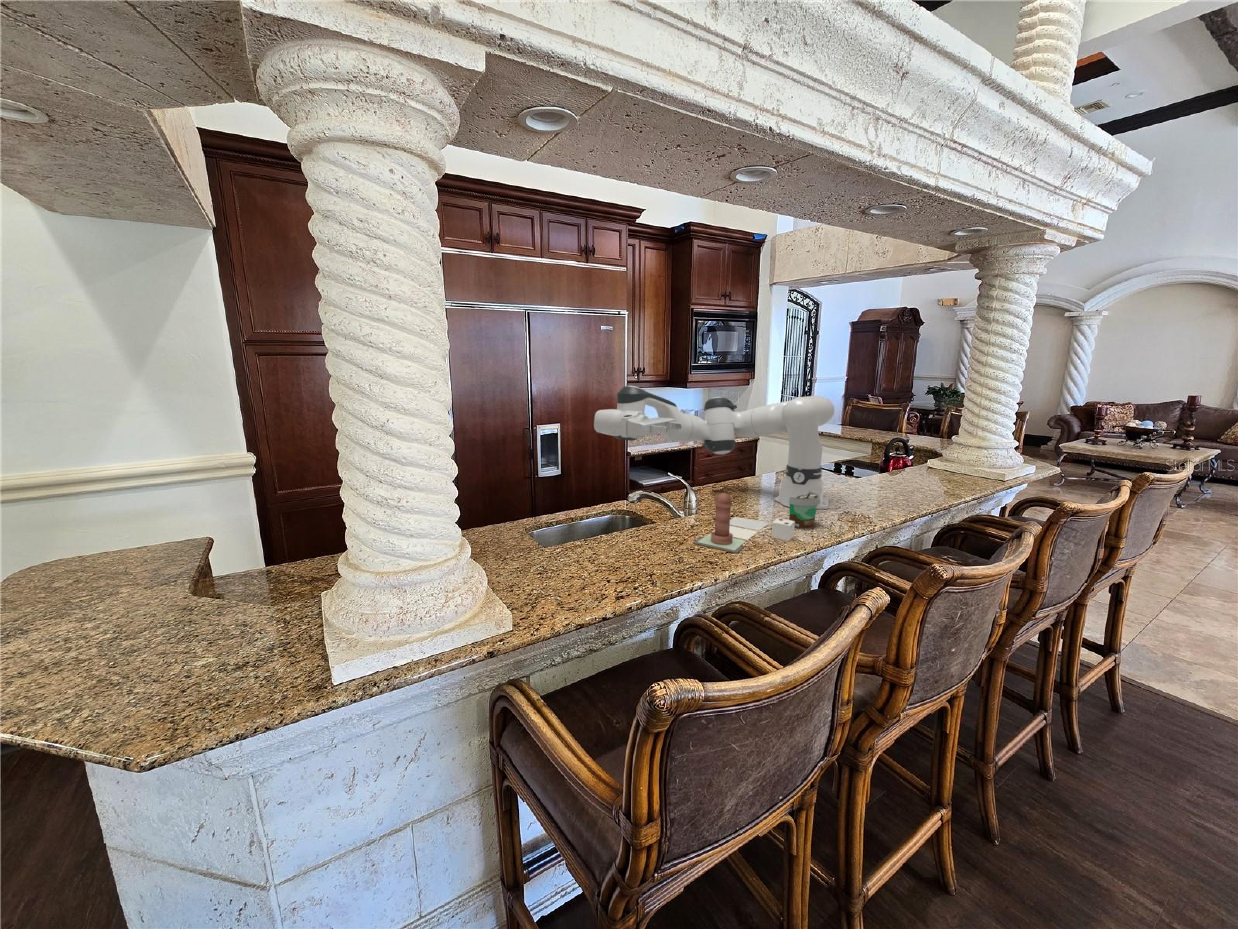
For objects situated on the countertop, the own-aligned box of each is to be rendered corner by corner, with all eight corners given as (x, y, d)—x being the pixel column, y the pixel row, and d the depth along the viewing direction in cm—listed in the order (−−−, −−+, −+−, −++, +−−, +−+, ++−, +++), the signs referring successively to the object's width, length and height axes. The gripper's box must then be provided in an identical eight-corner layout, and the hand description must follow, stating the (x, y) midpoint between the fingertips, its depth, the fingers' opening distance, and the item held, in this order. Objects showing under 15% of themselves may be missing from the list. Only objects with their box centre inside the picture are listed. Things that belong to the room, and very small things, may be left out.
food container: (805, 533, 150) (807, 501, 148) (786, 528, 154) (789, 497, 152) (824, 525, 158) (828, 494, 156) (806, 520, 162) (809, 490, 160)
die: (776, 534, 149) (777, 517, 148) (793, 537, 146) (794, 520, 145) (771, 538, 145) (772, 522, 144) (788, 542, 142) (790, 525, 141)
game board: (733, 516, 165) (733, 515, 165) (772, 523, 158) (772, 522, 158) (692, 543, 140) (692, 542, 140) (736, 553, 133) (736, 552, 133)
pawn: (715, 536, 145) (717, 489, 142) (735, 540, 142) (738, 492, 139) (707, 542, 140) (709, 493, 137) (727, 546, 137) (730, 496, 134)
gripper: (652, 430, 170) (688, 434, 163) (618, 437, 154) (657, 442, 146) (652, 412, 169) (689, 415, 162) (618, 417, 152) (658, 420, 145)
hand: (674, 428), depth 154 cm, fingers open, 8 cm apart
